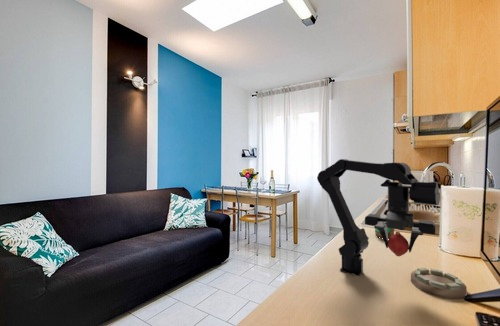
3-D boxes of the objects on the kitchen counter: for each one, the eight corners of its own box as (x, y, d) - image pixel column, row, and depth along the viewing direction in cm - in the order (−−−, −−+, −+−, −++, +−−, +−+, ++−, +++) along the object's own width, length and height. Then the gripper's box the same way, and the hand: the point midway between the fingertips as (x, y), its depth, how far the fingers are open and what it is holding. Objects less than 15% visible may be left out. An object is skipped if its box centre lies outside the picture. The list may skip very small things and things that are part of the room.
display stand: (409, 288, 74) (409, 278, 74) (411, 272, 85) (411, 263, 85) (469, 304, 66) (469, 293, 66) (463, 284, 77) (463, 274, 77)
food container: (367, 234, 130) (367, 216, 130) (376, 233, 131) (376, 216, 131) (386, 242, 118) (386, 222, 118) (396, 240, 120) (396, 221, 120)
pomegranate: (389, 251, 79) (389, 227, 79) (410, 255, 75) (409, 230, 75) (386, 256, 74) (386, 231, 75) (407, 261, 71) (407, 235, 71)
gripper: (360, 201, 74) (360, 250, 74) (435, 208, 63) (435, 266, 63) (368, 197, 83) (368, 241, 83) (435, 203, 72) (435, 253, 72)
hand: (398, 249), depth 75 cm, fingers closed on pomegranate, 6 cm apart
